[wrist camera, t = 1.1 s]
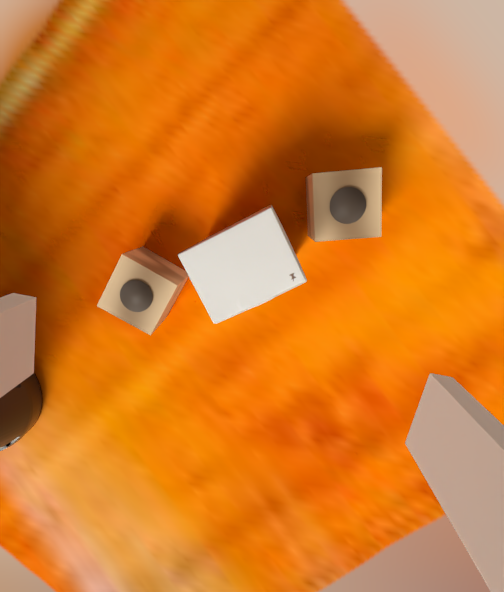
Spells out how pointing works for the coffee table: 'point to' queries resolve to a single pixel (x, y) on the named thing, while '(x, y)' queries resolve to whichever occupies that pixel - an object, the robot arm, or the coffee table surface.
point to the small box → (243, 265)
